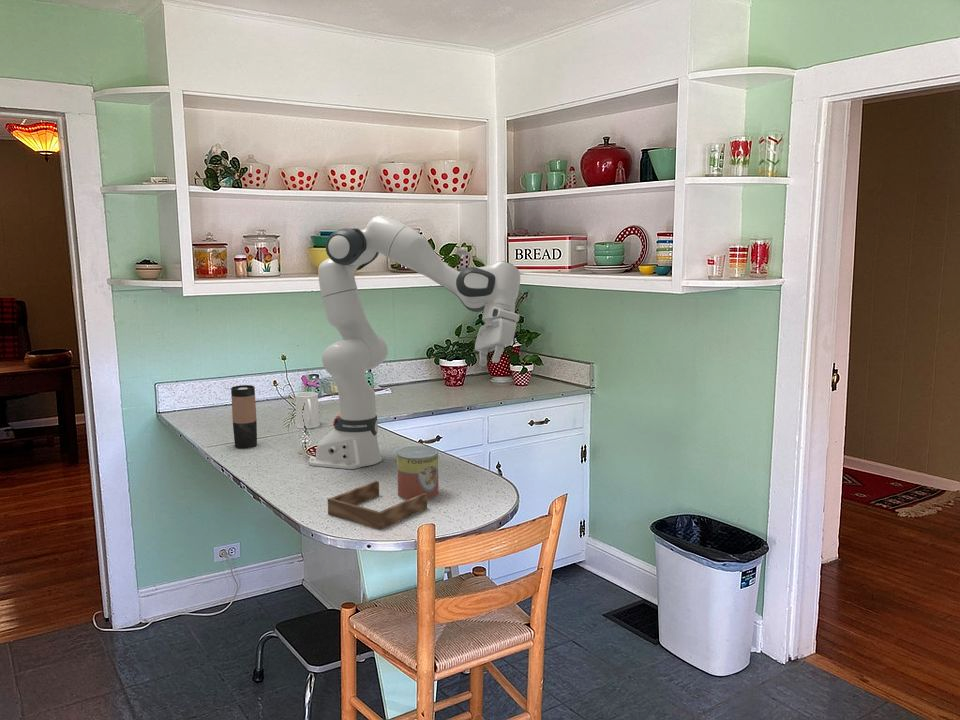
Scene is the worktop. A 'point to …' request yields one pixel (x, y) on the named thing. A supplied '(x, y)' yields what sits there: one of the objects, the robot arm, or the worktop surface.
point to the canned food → (417, 472)
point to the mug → (307, 410)
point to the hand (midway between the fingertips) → (488, 363)
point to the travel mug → (244, 416)
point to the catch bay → (349, 510)
